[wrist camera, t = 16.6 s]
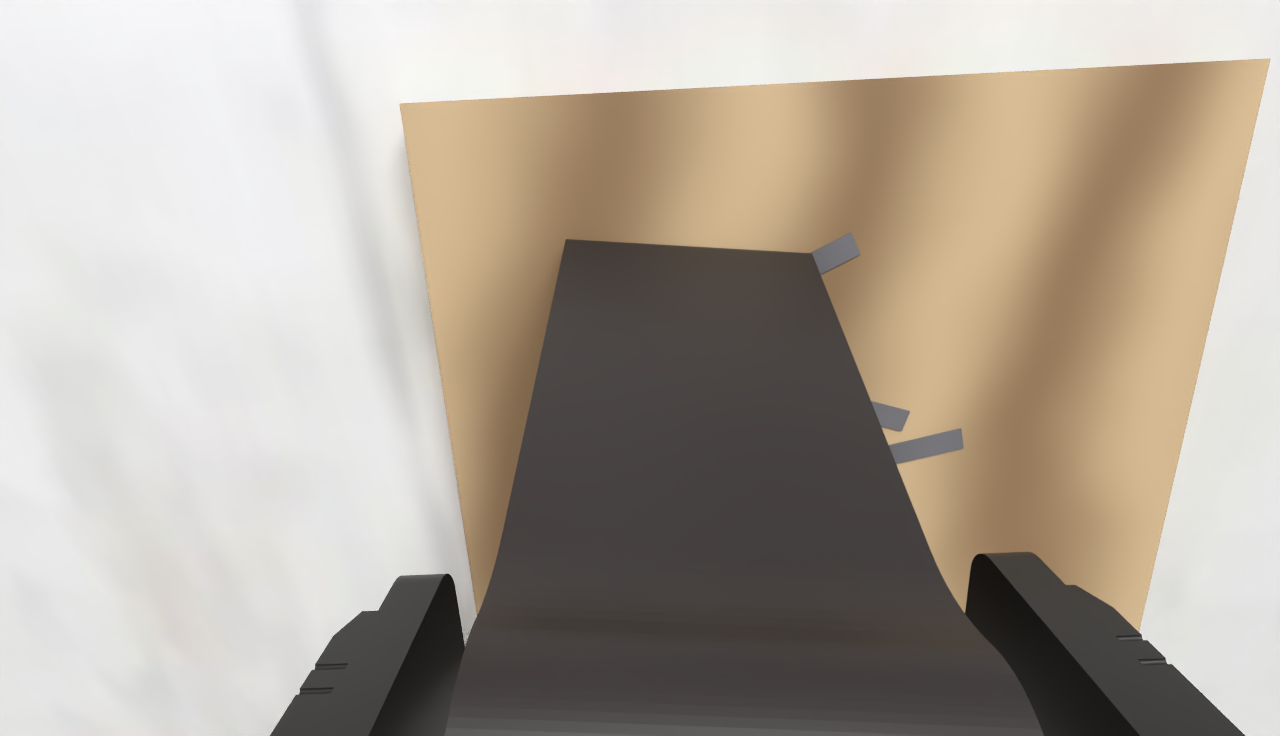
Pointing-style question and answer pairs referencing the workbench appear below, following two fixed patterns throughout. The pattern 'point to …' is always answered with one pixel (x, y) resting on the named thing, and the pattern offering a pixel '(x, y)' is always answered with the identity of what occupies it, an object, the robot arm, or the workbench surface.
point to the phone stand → (715, 526)
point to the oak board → (883, 274)
